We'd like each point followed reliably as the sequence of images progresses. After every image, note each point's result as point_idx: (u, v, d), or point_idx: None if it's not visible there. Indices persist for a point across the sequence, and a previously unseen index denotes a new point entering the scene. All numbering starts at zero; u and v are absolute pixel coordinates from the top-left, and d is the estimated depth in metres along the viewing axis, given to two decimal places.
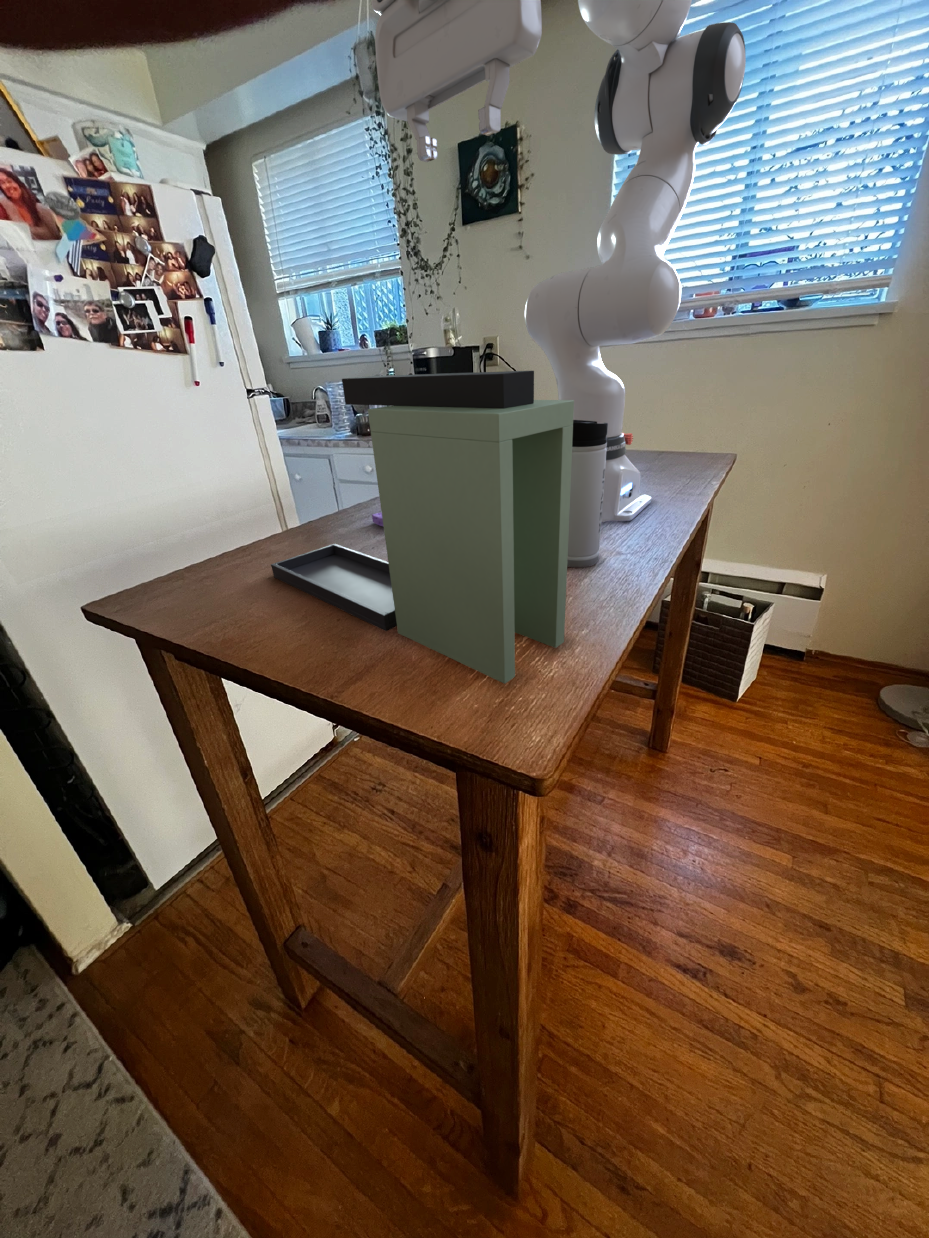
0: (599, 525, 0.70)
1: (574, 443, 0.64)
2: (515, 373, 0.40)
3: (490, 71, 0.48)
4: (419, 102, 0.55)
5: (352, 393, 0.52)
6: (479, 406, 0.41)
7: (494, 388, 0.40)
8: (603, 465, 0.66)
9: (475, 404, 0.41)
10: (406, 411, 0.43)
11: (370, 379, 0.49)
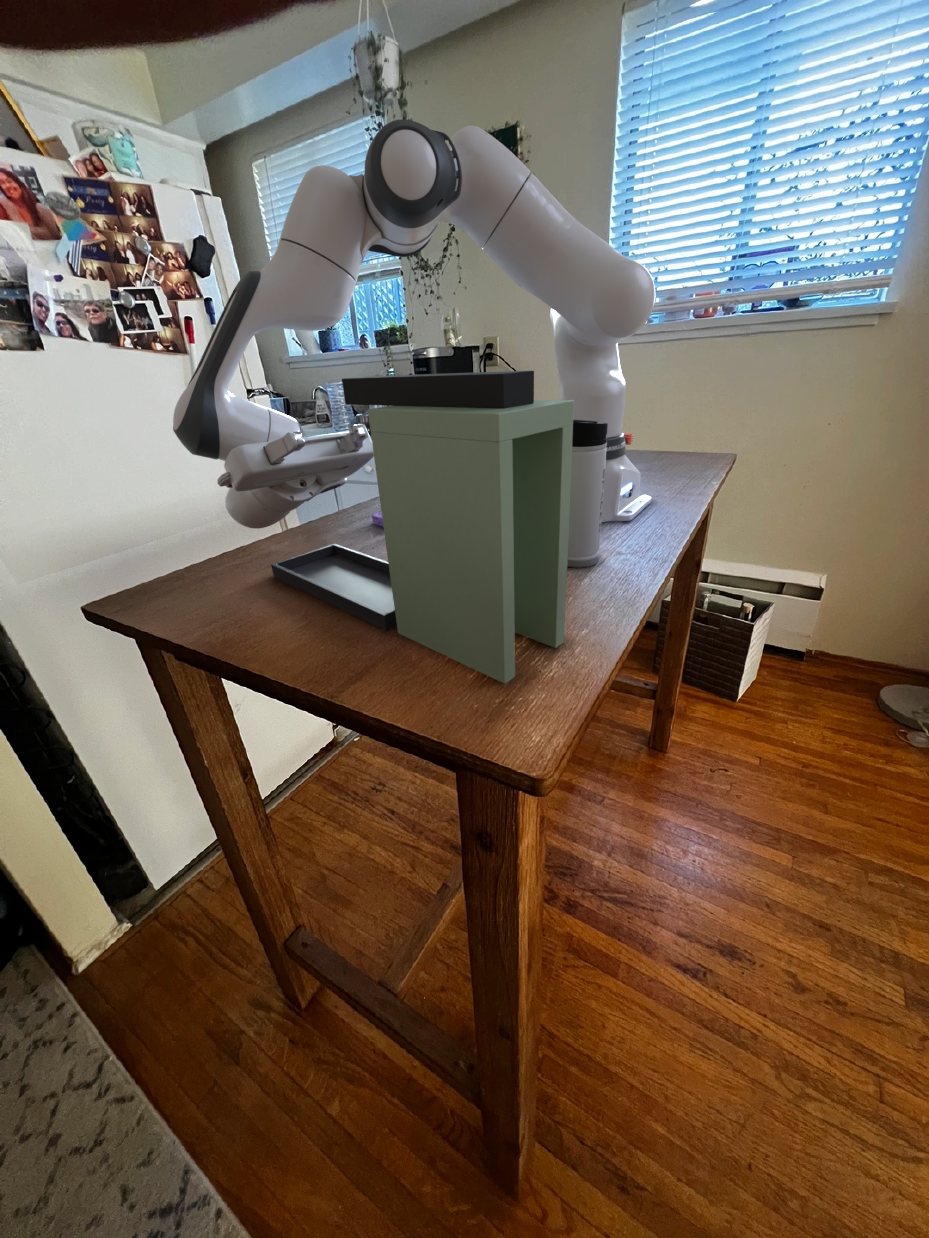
0: (599, 525, 0.70)
1: (574, 443, 0.64)
2: (515, 373, 0.40)
3: (278, 461, 0.60)
4: (346, 447, 0.68)
5: (352, 393, 0.52)
6: (479, 406, 0.41)
7: (494, 388, 0.40)
8: (603, 465, 0.66)
9: (475, 404, 0.41)
10: (406, 411, 0.43)
11: (370, 379, 0.49)
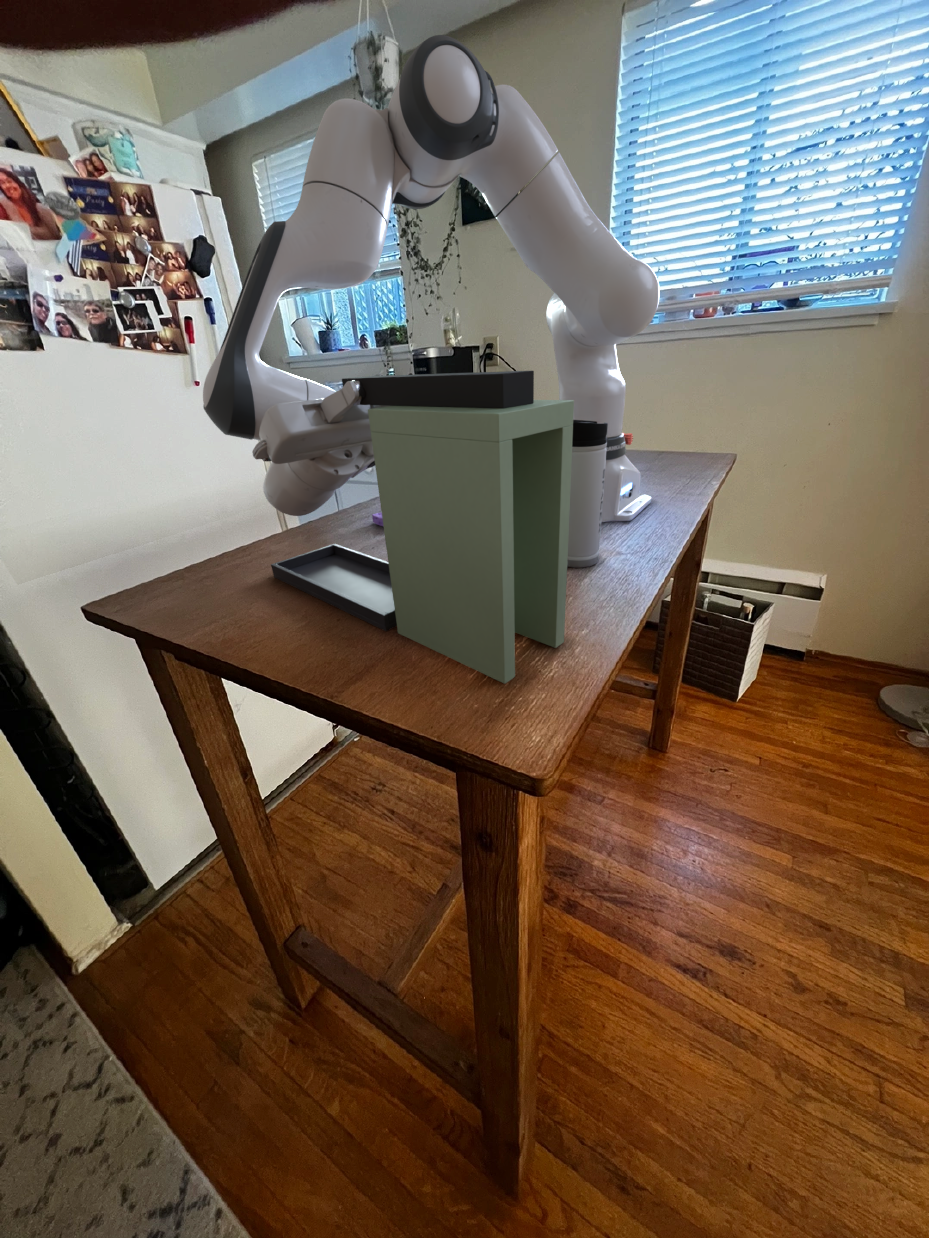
0: (599, 525, 0.70)
1: (574, 443, 0.64)
2: (515, 373, 0.40)
3: (337, 418, 0.52)
4: None
5: None
6: (479, 406, 0.41)
7: (494, 388, 0.40)
8: (603, 465, 0.66)
9: (475, 404, 0.41)
10: (406, 411, 0.43)
11: (370, 379, 0.49)
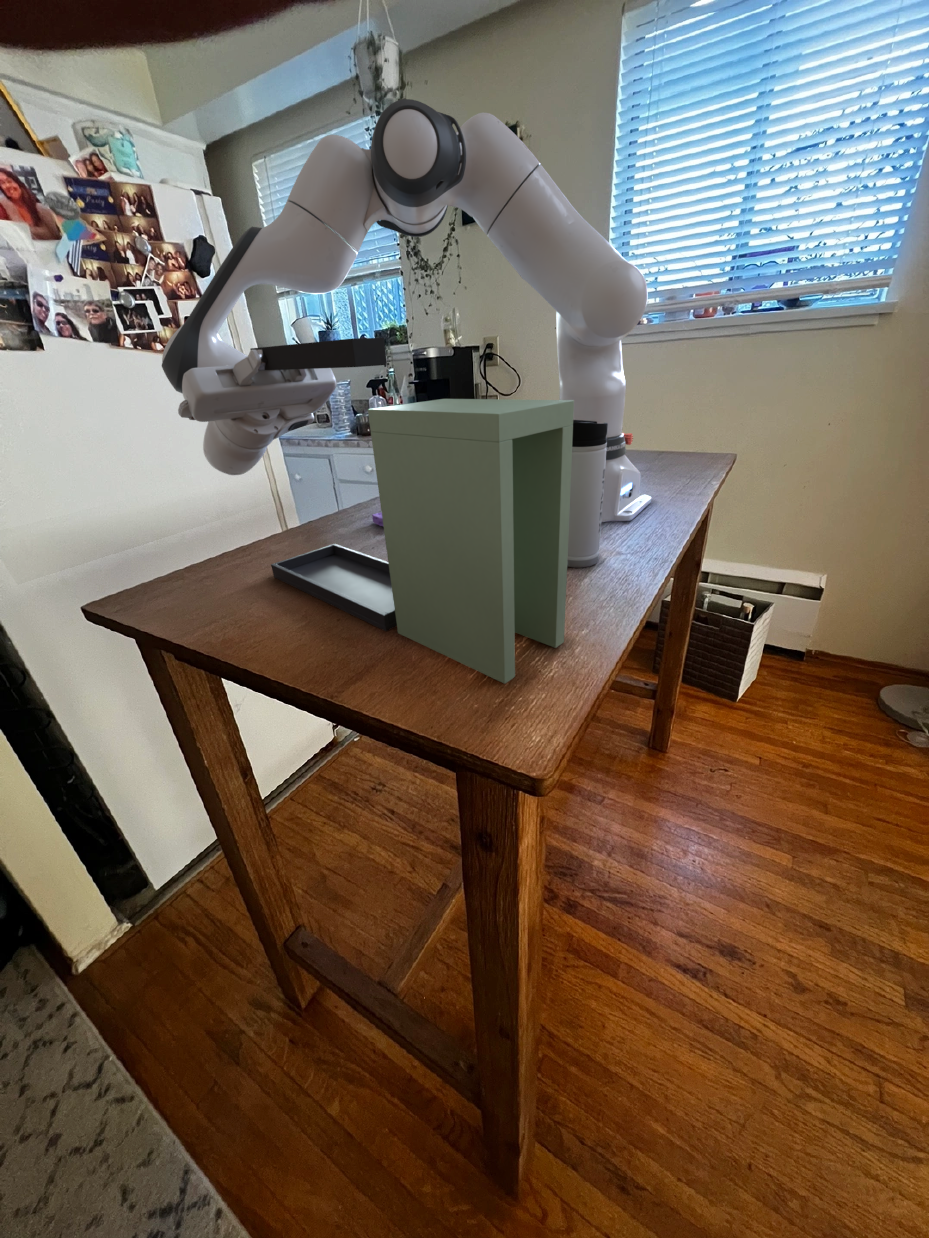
0: (599, 525, 0.70)
1: (574, 443, 0.64)
2: (364, 339, 0.50)
3: (246, 382, 0.63)
4: (291, 376, 0.68)
5: None
6: (340, 366, 0.52)
7: (348, 350, 0.50)
8: (603, 465, 0.66)
9: (338, 364, 0.52)
10: (406, 411, 0.43)
11: (269, 348, 0.60)
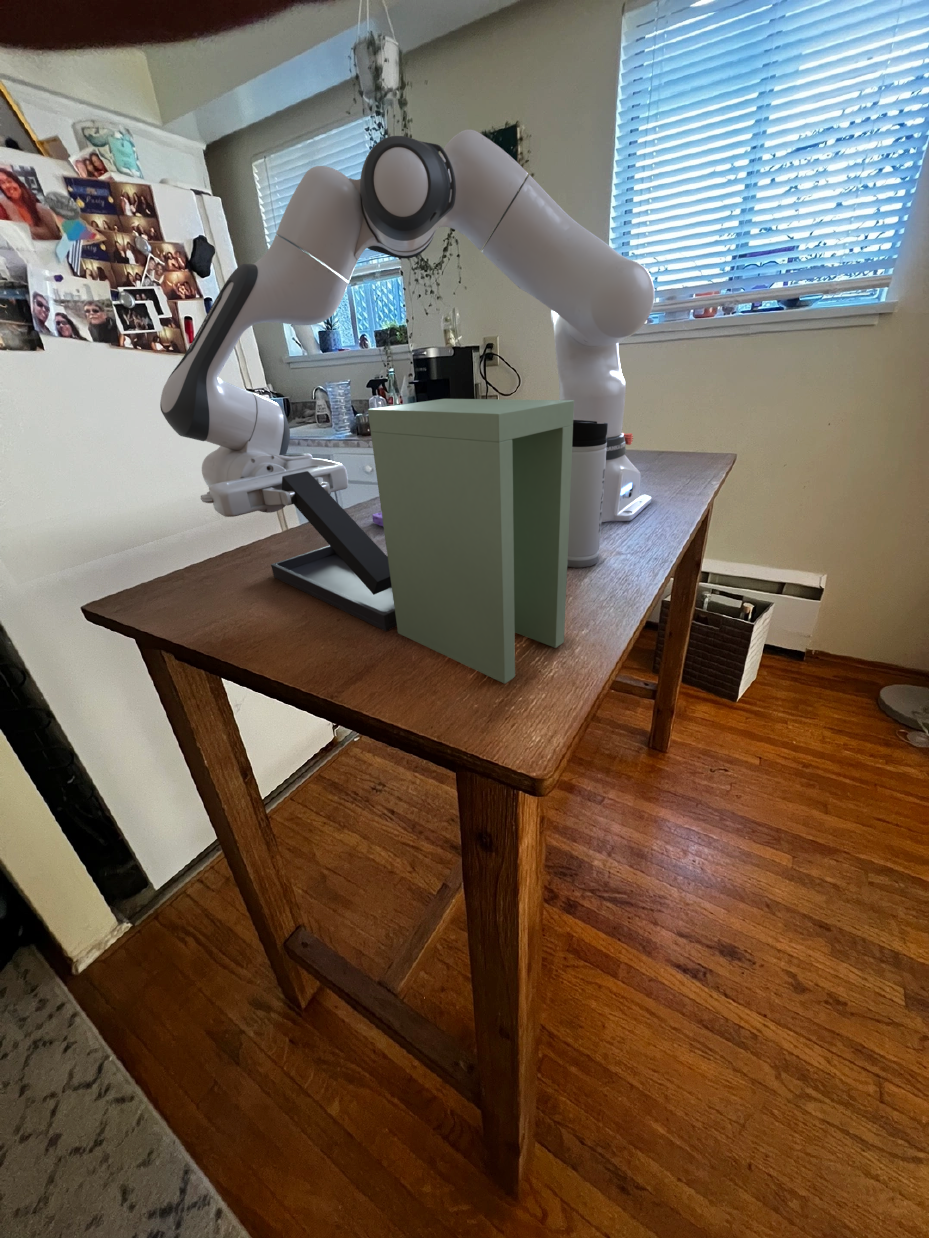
0: (599, 525, 0.70)
1: (574, 443, 0.64)
2: (386, 578, 0.63)
3: None
4: None
5: None
6: (361, 580, 0.65)
7: (371, 582, 0.63)
8: (603, 465, 0.66)
9: (360, 578, 0.65)
10: (406, 411, 0.43)
11: (302, 499, 0.68)
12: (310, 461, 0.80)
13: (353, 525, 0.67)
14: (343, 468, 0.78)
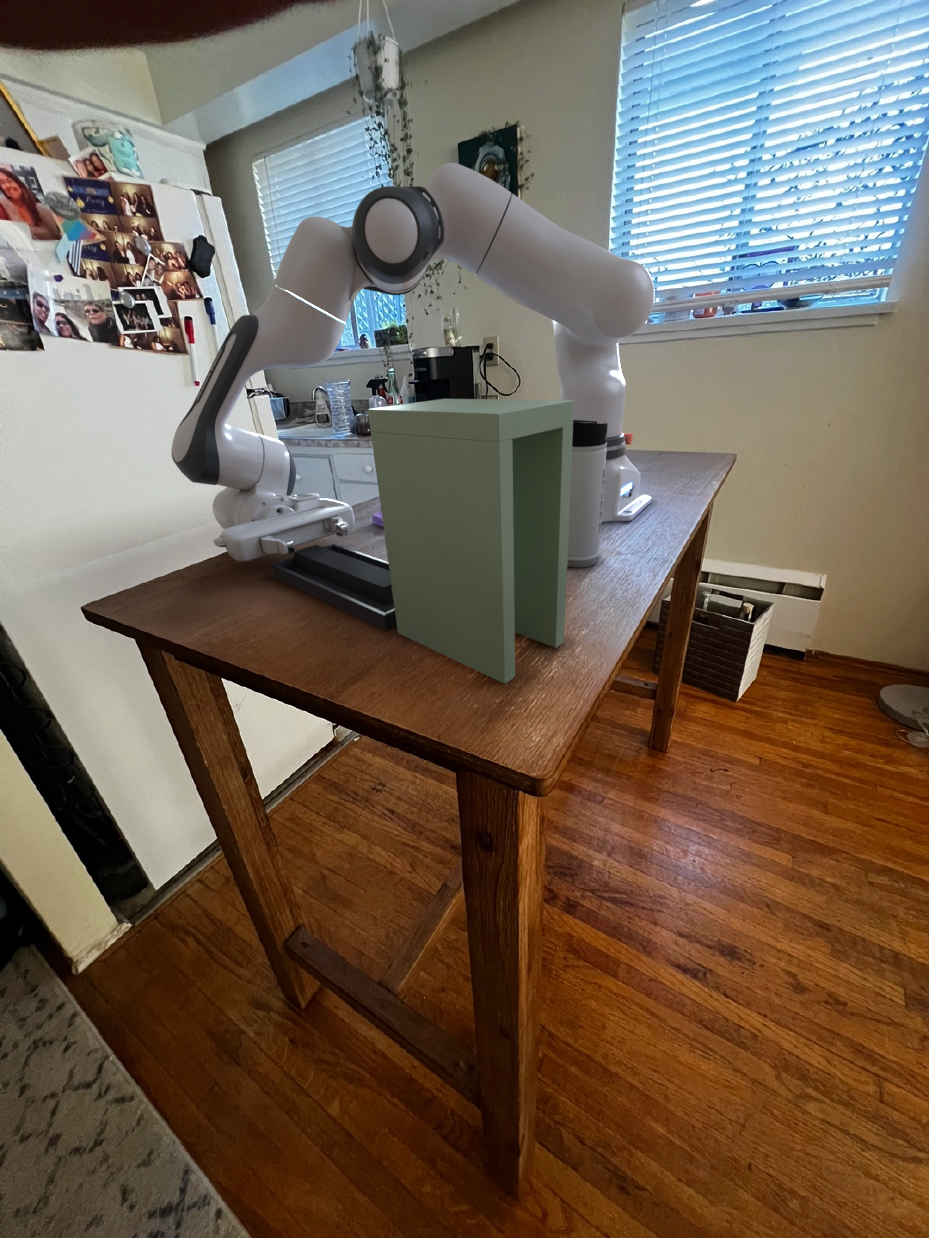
0: (599, 525, 0.70)
1: (574, 443, 0.64)
2: None
3: None
4: (330, 526, 0.79)
5: (300, 563, 0.76)
6: (373, 599, 0.65)
7: (380, 593, 0.63)
8: (603, 465, 0.66)
9: (371, 597, 0.65)
10: (406, 411, 0.43)
11: (310, 559, 0.73)
12: (318, 501, 0.83)
13: (358, 562, 0.70)
14: (350, 509, 0.81)
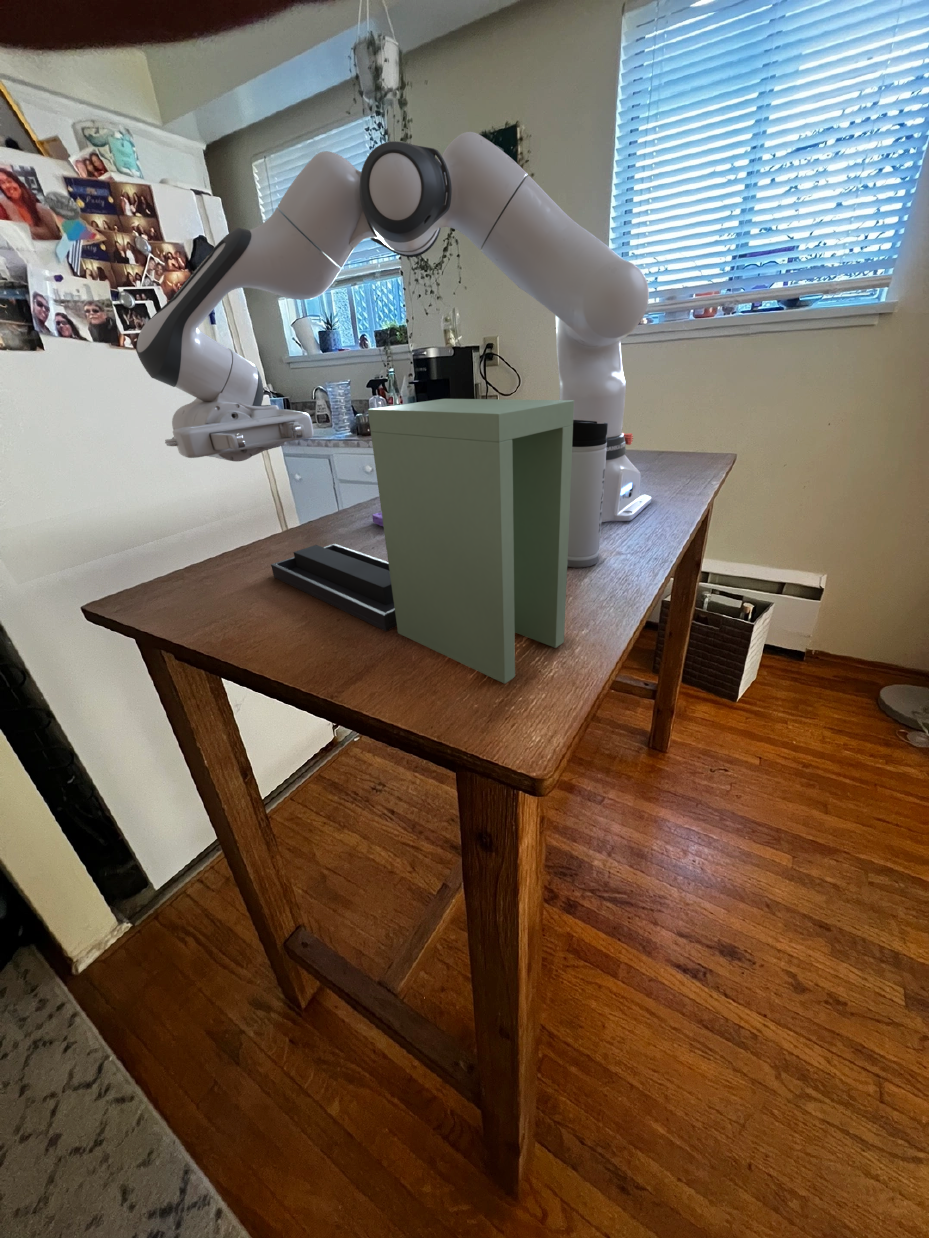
0: (599, 525, 0.70)
1: (574, 443, 0.64)
2: None
3: None
4: (287, 431, 0.78)
5: (300, 563, 0.76)
6: (373, 599, 0.65)
7: (380, 593, 0.63)
8: (603, 465, 0.66)
9: (371, 597, 0.65)
10: (406, 411, 0.43)
11: (310, 559, 0.73)
12: (276, 411, 0.82)
13: (358, 562, 0.70)
14: (307, 416, 0.80)
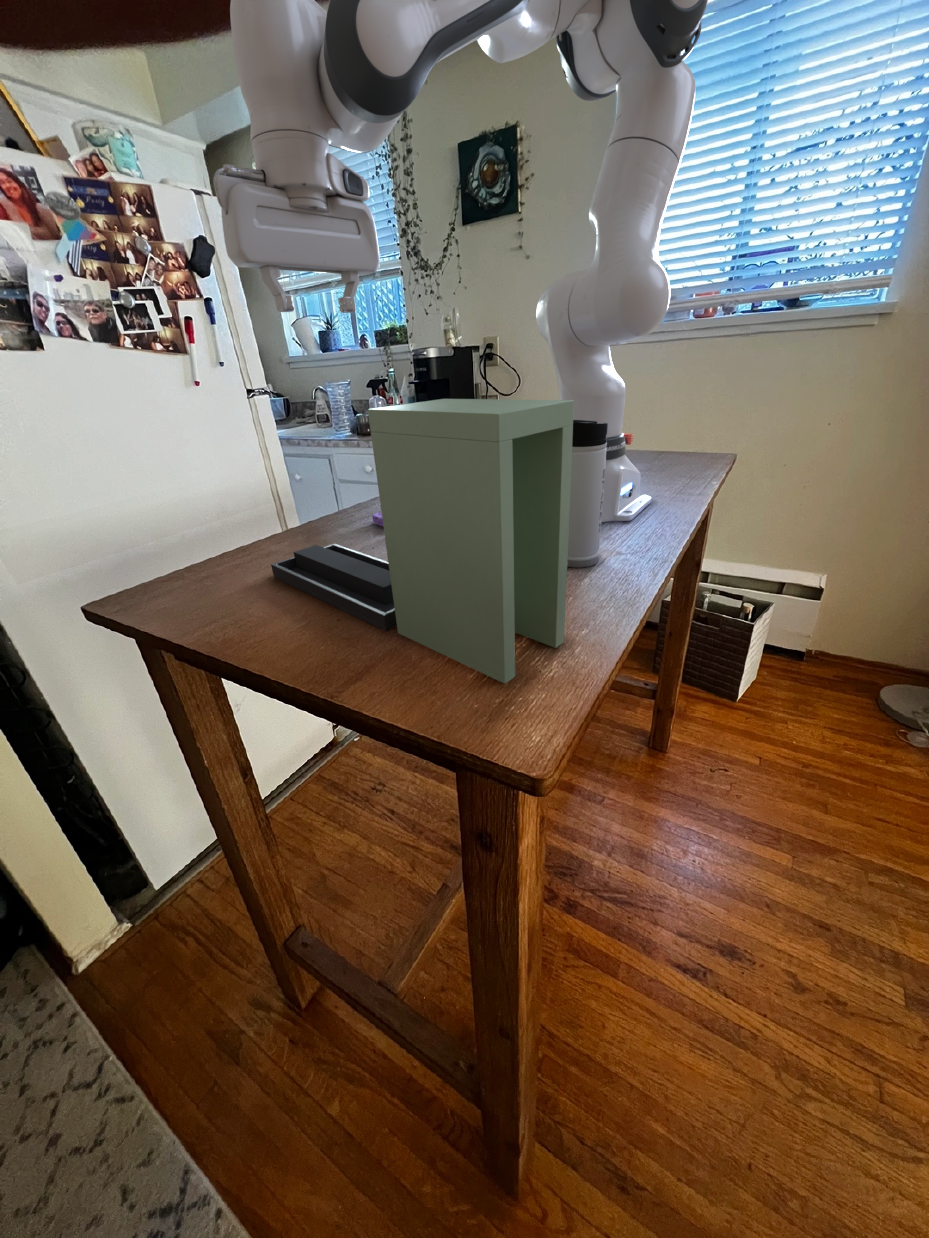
0: (599, 525, 0.70)
1: (574, 443, 0.64)
2: None
3: None
4: (343, 270, 0.68)
5: (300, 563, 0.76)
6: (373, 599, 0.65)
7: (380, 593, 0.63)
8: (603, 465, 0.66)
9: (371, 597, 0.65)
10: (406, 411, 0.43)
11: (310, 559, 0.73)
12: (360, 213, 0.64)
13: (358, 562, 0.70)
14: (374, 272, 0.69)
